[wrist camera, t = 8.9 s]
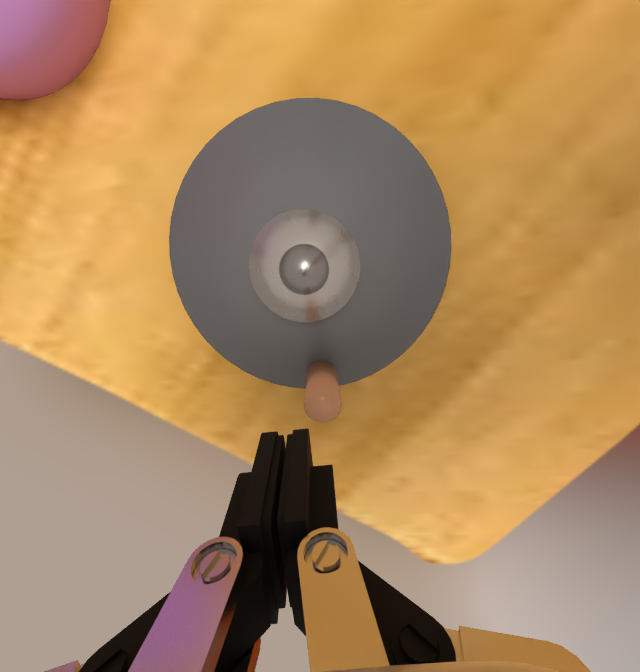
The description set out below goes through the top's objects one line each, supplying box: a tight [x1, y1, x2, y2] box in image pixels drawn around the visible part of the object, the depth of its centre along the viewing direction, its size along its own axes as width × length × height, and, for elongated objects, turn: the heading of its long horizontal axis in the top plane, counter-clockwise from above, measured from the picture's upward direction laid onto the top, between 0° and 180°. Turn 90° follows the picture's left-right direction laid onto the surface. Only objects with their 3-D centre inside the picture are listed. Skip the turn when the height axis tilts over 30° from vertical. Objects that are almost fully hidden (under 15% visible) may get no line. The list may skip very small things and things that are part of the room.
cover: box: [249, 209, 360, 322], centre depth 21 cm, size 7×7×4 cm
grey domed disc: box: [169, 98, 451, 422], centre depth 22 cm, size 20×20×7 cm
